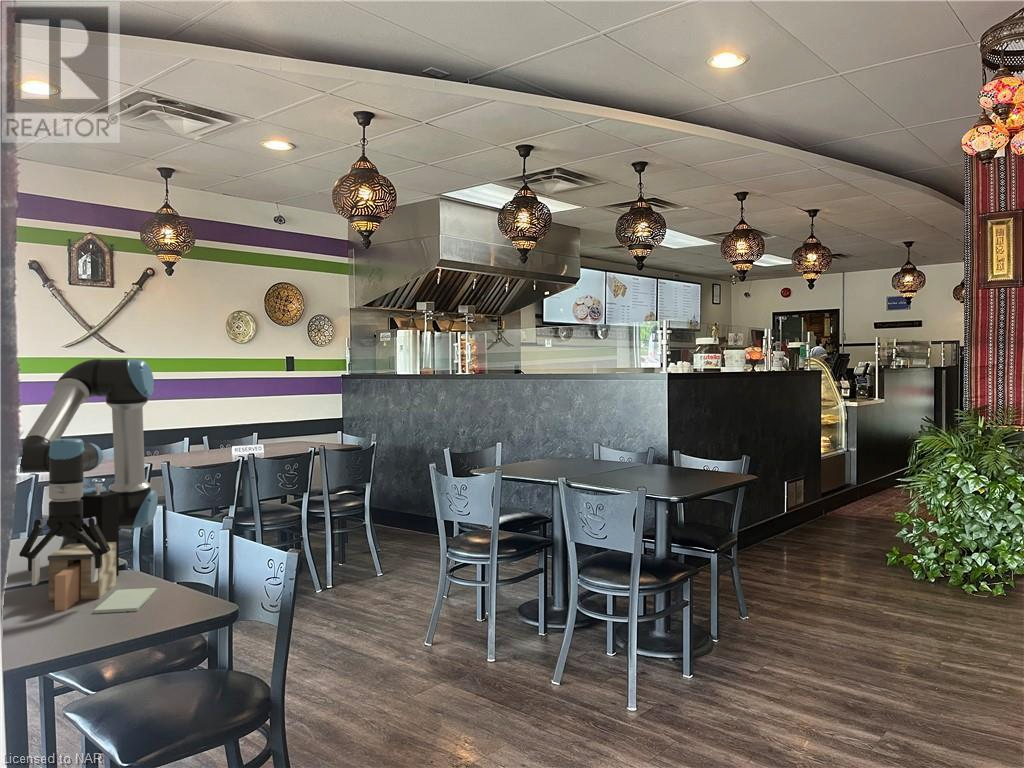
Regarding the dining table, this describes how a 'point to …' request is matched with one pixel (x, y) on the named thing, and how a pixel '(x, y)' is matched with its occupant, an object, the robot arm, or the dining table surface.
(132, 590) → the mat
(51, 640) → the dining table surface
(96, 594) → the brown boxy piece
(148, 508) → the robot arm
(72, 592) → the tan rectangular slab
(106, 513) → the black tall rectangular block
